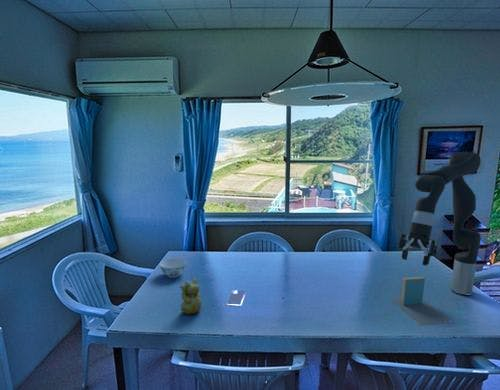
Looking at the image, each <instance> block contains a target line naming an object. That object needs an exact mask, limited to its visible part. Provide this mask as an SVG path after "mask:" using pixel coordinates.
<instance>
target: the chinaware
mask: <svg viewBox="0 0 500 390" xmlns="http://www.w3.org/2000/svg"><path fill="white" fill-rule="evenodd" d="M186 266H187V260H186V259H185V258H181V257H180V258H179V257H172V258H171V257H170V258H166V259H164V260H162V261H160V262H159V267H160V270H161V271H162V273H164V275H166V276H167V277H168V278H171V279H172V278H173V279H174V278H178V277H179V276H180V274H182V273H183V272H184V270H185V268H186Z"/></svg>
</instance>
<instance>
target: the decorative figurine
mask: <svg viewBox="0 0 500 390" xmlns="http://www.w3.org/2000/svg"><path fill="white" fill-rule="evenodd" d="M179 289H181V290H182V292H181V298H182V302H181V303H180V310H181V312H183V313H185V314H186V315H188V316H190V315H193V314H196V313H198V311H200V309H201V307H202V299H201V298H202V297H201V294H200V293H199V290H200V286H199V284H198V279H197V278H195V277H194V278H193V279H192V281H191V282H190V281H189V280H185V282H184V284H181V285H180V287H179Z"/></svg>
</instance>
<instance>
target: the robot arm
mask: <svg viewBox="0 0 500 390" xmlns="http://www.w3.org/2000/svg"><path fill="white" fill-rule="evenodd" d="M448 161H449V164H448V165H444V166H442V167H440V168H438V169H436V170H435V171H430V172H425V173H424V174H420V175H419V176H418V177H417V178H416V180H415V183H414V187H415V188H416V190H417V191H419V192H422V193H429V194H428V195H426V196H424V197H423V196H422V197H418V198H417V200H416V203H415V207H414V212H413V214H412V219H411V224H410V229H409V234H405V233H402V234H401V236H400V239H399V243H398V248H400V249H402V252H401V259H402V260H405V261H407V260H408V257H409V256H408V255H409V250H410V249H411V248H412V249H413V248H418V249H421V251H422V252H423V253H424V256H423V258H422V260H423V261H422V266H425V267H427V266H428V265H429V264H430V259H431V257H436V256H437V251H438V245H439V243H438V242H439V241H438V240H433V239H432V240H431V239H430V237H431V236H432V231H433V227H434V226H433V225H434V219H435V211H436V207H437V203H438V202H439V199H440V197H441V196H442V194H443V192H444V190H445V188H446V185H448V184H449V183H451V185H452V187H451V188H452V189H451V190H452V208H453V209H452V210H453V231H452V233H453V235H452V238H453V239H452V240H453V244H454V245H455V246H457V247H460V248H464V249H467V250H468V251H463V252H460V251H459V252H456V253H455V255H454V262H453V270H452V277H451V284H450V285H451V286H450V290H451V289H452V290H453V291H455V292H458V293H461V294H471V293H472V294H473V291H474V290H473V289H474V282H475V275H476V268H477V260H478V257H479V256H478V255H479V249H480V246H481V245H480V244H481V239H482V237H481V233H480V232H478V231H475V230H469V229H465V228H464V224H465V222H466V221H467V220H469V218H470V217H471V216H472V215H473V214H474V213H475V211H476V209H477V200H476V194H475V192H474V190H472V188H471V187H470V185H468V183H467V182H466V180H465V178H464V176H468V175H471V174H473V173H475V172H477V171H478V170H479V168H480V166H481V156H480V154H478V153H476V152H462V151H459V152H458V151H455V152H453V153H451V155H450V157H449V160H448ZM407 241H408V242H407ZM428 245H430V248H429V247H428Z"/></svg>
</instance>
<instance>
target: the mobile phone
mask: <svg viewBox="0 0 500 390" xmlns="http://www.w3.org/2000/svg"><path fill="white" fill-rule="evenodd" d="M246 294H247V291H245V290H239V289H238V290H237V289H233V290H232V291H231V292H230V294H229V297H228V299H227V301H226V304H225V306H229V307H242V305H243V303H244V299H245V297H246Z"/></svg>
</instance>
